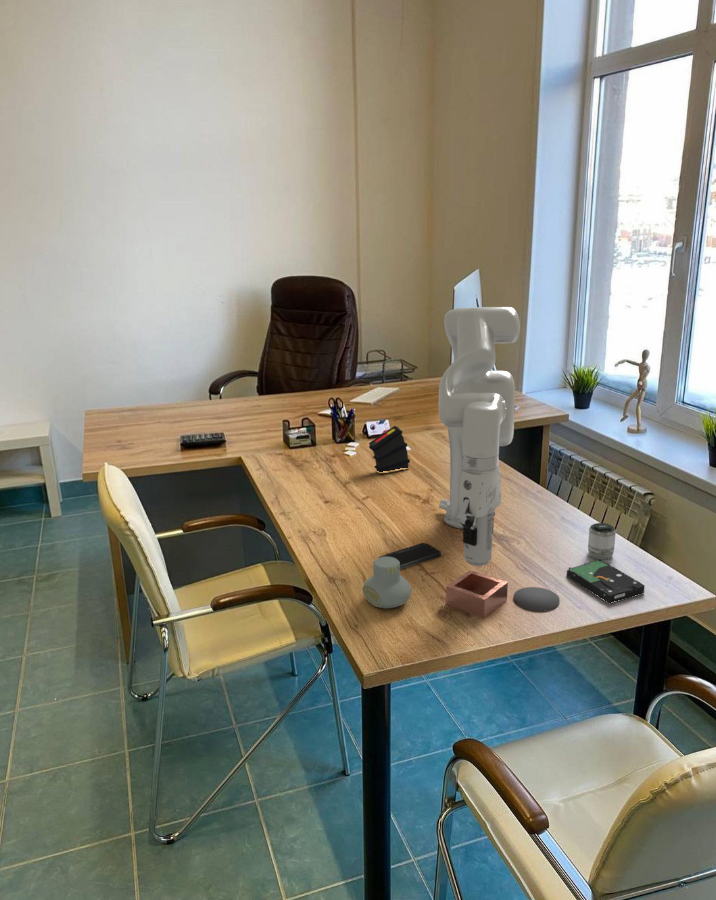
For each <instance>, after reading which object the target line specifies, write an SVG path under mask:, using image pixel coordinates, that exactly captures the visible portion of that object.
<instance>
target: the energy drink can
mask: <svg viewBox="0 0 716 900" xmlns="http://www.w3.org/2000/svg"><path fill="white" fill-rule="evenodd" d="M468 513H471V510H469V511H468ZM471 514H472V513H471ZM472 518H473V517H470V516H468V520H470V521H471V523H472ZM493 518H494V517H493V507H490V508H489V509H488V513H487V514H486V515H484V516H483V517H481V518H477V522H476V527H475V528H477V545H476V546H472V545H469V544H466V543H464V542H463V557H464V559H465V561H466V563H468V565H471V566H475V567H482V566H483V567H484V566H486V565H488V564H489V562H490V561H491V560H492V555H493V553H492V551H493V534H492V528H493V529H494V524H493Z"/></svg>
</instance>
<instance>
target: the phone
mask: <svg viewBox="0 0 716 900" xmlns="http://www.w3.org/2000/svg"><path fill="white" fill-rule="evenodd" d="M441 556H442V551H440V550H439V549H437V548H436V547H434V546H432V545H430V544H429V543H426V542H421V543H418V544H415V545H411V546H408V547H405V548H401V549H399V550H396V551H392V552H389V553H385V554H383V555H380V556H378V558H380V557H393V558H396V559H397V560H398V561H399V562H400V571H402V570H404V569H407V568H410V567H413V566H416V565H419V564H422V563H425V562H429V561H433V560H434V559H438V558H441Z"/></svg>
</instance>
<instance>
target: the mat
mask: <svg viewBox="0 0 716 900" xmlns="http://www.w3.org/2000/svg"><path fill="white" fill-rule="evenodd" d="M560 601H561V600H560V596H559V595H558V594H557V593H555V591H552V590H550V589H547V588H544V587H539V586H528V587H523V588H519V589H518V590H516V591H515V592H514V594H513V602H514V604H516V605H517V606H518V607H521V608H522V609H524V610H528V611H531V612H549V611H552V610H555V609H556V608H558V606H559V605H560Z"/></svg>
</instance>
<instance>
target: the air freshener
mask: <svg viewBox="0 0 716 900" xmlns="http://www.w3.org/2000/svg"><path fill="white" fill-rule="evenodd" d="M379 557H380V556H379ZM379 557H377V558H376V559H375V560H374V561H373V562H372V563H373V565H372V568H373V571H372V574H373V575H371V576H370V577H369V578H367V579H366V580H365V582H364V583H363V586H362V593H363V596H364V598H365V600H367V602H368V603H370V604H371V605H372V606H374V607H377V608H380V609H394V608H397V607H399V606H402V605H404V604H406V603H407V601H408V600H410V597H411V596H412V595H411V594H412V588H411V585H410V583H409V582H408V580H407V579H406V578H404V576H402V575H401V570H400V562H399V561H398V560H397V559H396V558H393V557H380V558H379Z"/></svg>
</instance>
